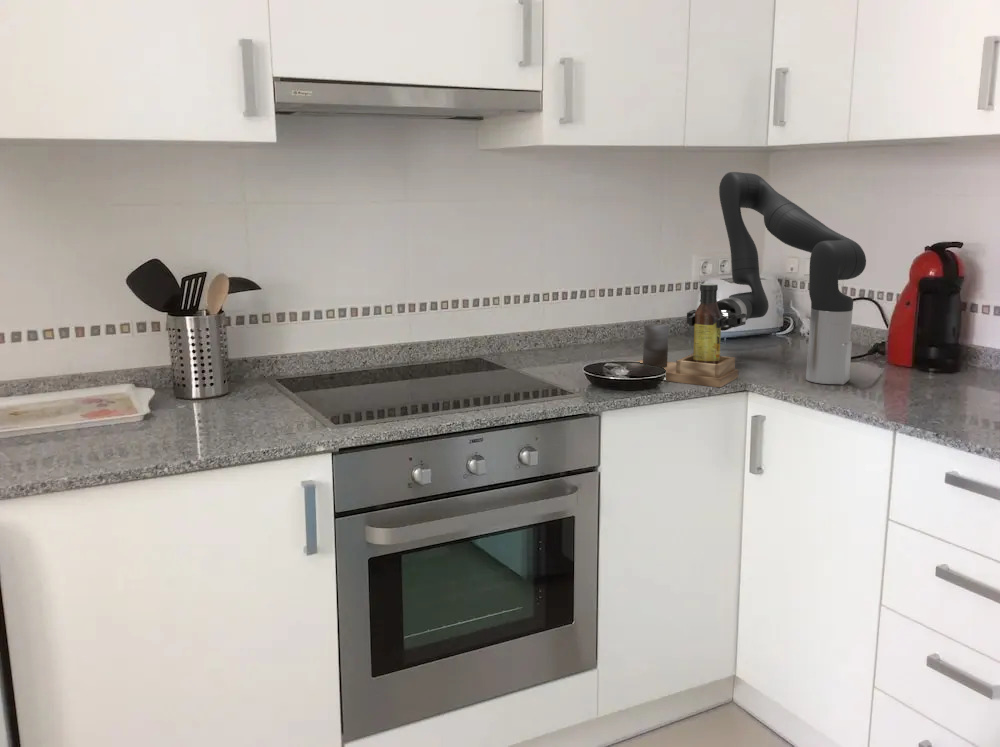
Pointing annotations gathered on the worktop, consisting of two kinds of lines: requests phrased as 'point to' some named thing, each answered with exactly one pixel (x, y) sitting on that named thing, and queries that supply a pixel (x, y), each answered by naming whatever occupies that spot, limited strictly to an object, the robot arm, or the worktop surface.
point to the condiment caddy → (684, 361)
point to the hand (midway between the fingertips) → (704, 322)
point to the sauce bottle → (707, 327)
